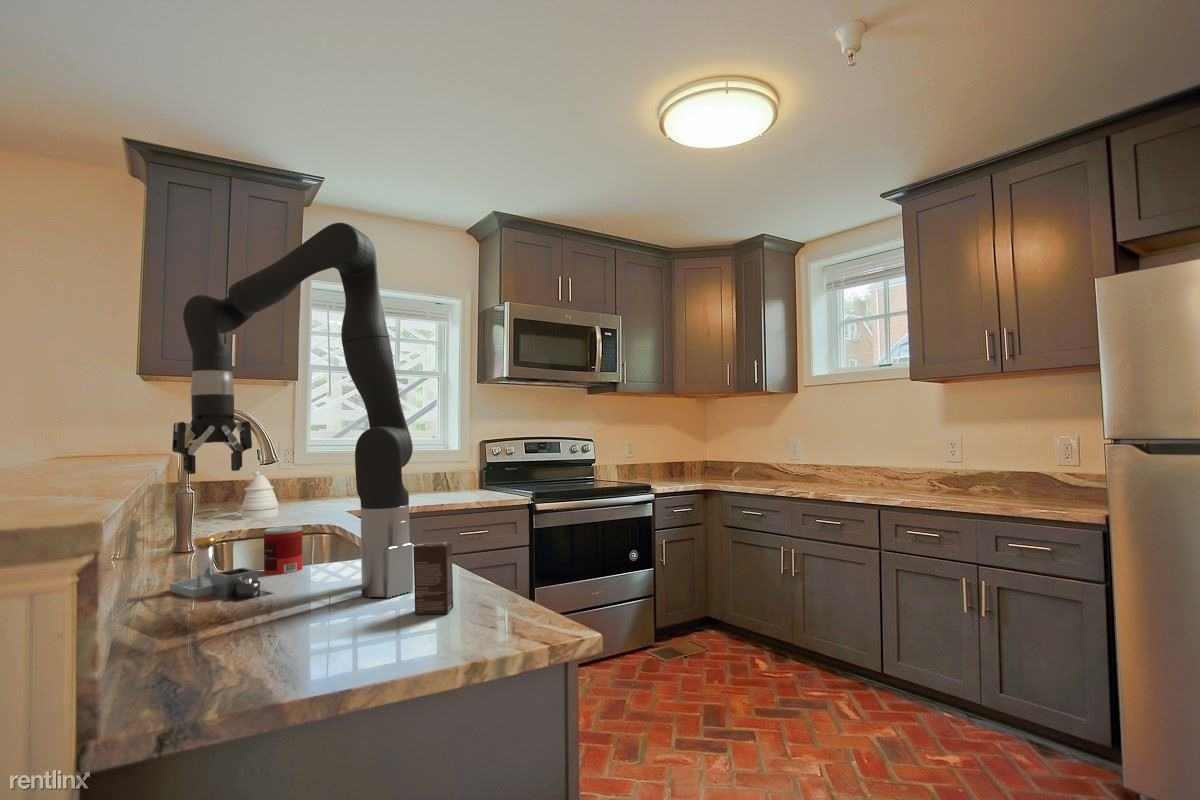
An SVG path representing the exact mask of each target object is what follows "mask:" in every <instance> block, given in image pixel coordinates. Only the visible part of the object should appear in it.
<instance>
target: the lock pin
mask: <svg viewBox="0 0 1200 800" xmlns="http://www.w3.org/2000/svg"><path fill="white" fill-rule="evenodd" d="M216 544H217V537H216V536H203V537H202V536H201V537H196V538H194V539H193V546H195V547H196V549H195V551H196V552H195V555H196V558H195V560H196V561H195V563H196V564H195V565H196V566H195V567H196V568H195V569H196V571H195V573H196V574H195V575H196V577H195V578H196V586H195V588H200V587H205V586H209V585H213V575H212V574H213V573H215V571H214V570H215V569H214V568H215V565H214V564H215V552H214V551H215V545H216Z"/></svg>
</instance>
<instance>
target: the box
mask: <svg viewBox="0 0 1200 800" xmlns="http://www.w3.org/2000/svg"><path fill="white" fill-rule="evenodd" d="M453 583H454V581H453V543H452V541H440V542H439V541H436V542H435V541H434V542H432V541H431V542H419V543H417V544H415V545H413V591H414V614H415V616H416V615H435V614H441V615H442V614H446V615H448V614H449V613H451V611H452V609H454V584H453Z"/></svg>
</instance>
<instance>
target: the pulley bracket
mask: <svg viewBox="0 0 1200 800" xmlns="http://www.w3.org/2000/svg"><path fill="white" fill-rule="evenodd" d="M212 575H213V593H212V594H208V596H211V597H215V598H218V599H221V600H225V601H228V602H232V603H240V602H245V601H249V600H253V599H256V598H261V597H265V596H270V595H273V594H274V592H269V591H266V590H262V589H261V581H260V580H259V570H257V569H252V568H247V567H240V568H239V567H238V568H233V569H229V570H223V571H218V572H214V573H213V574H212Z"/></svg>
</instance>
